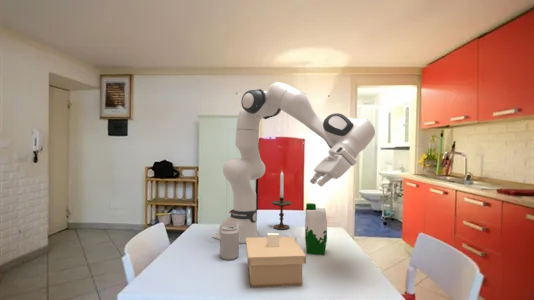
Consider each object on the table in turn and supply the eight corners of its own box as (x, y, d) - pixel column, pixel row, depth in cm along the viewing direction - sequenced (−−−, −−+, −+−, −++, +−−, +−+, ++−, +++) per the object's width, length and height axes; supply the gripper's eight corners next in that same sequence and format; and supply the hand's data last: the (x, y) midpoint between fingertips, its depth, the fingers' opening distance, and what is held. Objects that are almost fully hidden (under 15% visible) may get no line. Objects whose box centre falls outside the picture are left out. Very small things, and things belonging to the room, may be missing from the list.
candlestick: (285, 231, 144) (286, 166, 144) (268, 228, 149) (268, 165, 150) (294, 227, 153) (294, 165, 154) (277, 224, 159) (278, 165, 159)
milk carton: (305, 247, 119) (306, 202, 119) (326, 249, 117) (326, 203, 117) (304, 254, 110) (304, 205, 111) (327, 256, 108) (327, 206, 109)
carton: (250, 287, 82) (251, 259, 82) (248, 264, 100) (248, 240, 100) (302, 285, 84) (302, 257, 84) (290, 262, 102) (290, 239, 102)
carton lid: (248, 265, 81) (248, 244, 81) (245, 244, 101) (246, 226, 101) (305, 263, 83) (305, 242, 83) (292, 243, 103) (292, 226, 103)
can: (241, 255, 109) (242, 225, 109) (233, 261, 102) (234, 230, 102) (225, 252, 112) (225, 223, 112) (216, 259, 104) (216, 228, 105)
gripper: (325, 151, 108) (302, 176, 106) (345, 148, 87) (317, 179, 86) (336, 161, 108) (313, 187, 106) (359, 162, 88) (331, 193, 86)
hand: (315, 183), depth 96 cm, fingers open, 8 cm apart
